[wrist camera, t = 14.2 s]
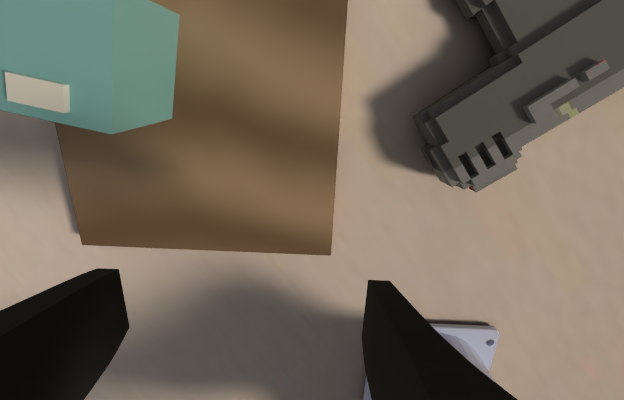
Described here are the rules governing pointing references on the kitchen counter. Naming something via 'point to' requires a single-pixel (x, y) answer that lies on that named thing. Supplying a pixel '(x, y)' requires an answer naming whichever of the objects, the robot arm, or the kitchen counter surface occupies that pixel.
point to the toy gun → (523, 83)
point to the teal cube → (88, 62)
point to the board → (225, 137)
